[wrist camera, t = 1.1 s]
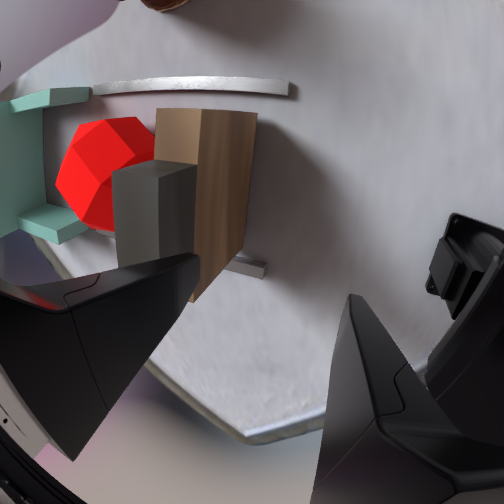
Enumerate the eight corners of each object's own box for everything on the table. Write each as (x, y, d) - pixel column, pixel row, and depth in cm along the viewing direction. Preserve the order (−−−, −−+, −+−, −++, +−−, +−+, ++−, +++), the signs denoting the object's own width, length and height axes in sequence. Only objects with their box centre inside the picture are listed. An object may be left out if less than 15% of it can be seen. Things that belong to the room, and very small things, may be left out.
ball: (98, 165, 26) (37, 185, 19) (137, 101, 22) (69, 104, 15) (146, 224, 27) (89, 258, 20) (196, 163, 23) (134, 184, 16)
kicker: (257, 113, 19) (161, 109, 9) (243, 247, 23) (165, 335, 14) (224, 110, 19) (112, 110, 10) (214, 239, 24) (126, 319, 14)
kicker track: (291, 82, 18) (288, 80, 17) (265, 274, 25) (262, 279, 24) (99, 85, 22) (93, 85, 21) (101, 229, 29) (96, 232, 28)
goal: (89, 86, 23) (22, 91, 16) (92, 227, 29) (36, 257, 22) (37, 97, 25) (-17, 106, 18) (42, 212, 32) (-5, 235, 25)
